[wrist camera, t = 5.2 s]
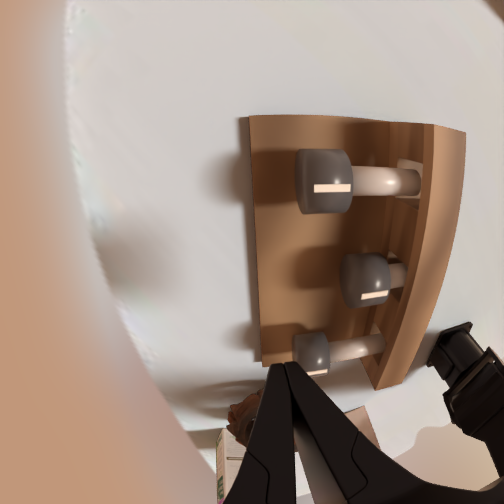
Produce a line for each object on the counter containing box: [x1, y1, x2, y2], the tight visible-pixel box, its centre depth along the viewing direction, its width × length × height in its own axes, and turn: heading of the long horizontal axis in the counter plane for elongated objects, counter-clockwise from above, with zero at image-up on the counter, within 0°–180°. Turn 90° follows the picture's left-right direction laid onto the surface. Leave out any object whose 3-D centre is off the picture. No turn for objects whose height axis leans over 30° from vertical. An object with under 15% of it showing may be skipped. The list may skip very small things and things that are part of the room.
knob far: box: [292, 332, 386, 378], centre depth 21 cm, size 8×4×4 cm, turn 93°
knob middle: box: [340, 252, 408, 309], centre depth 18 cm, size 8×4×4 cm, turn 93°
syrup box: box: [216, 428, 246, 504], centre depth 27 cm, size 6×6×14 cm
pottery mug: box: [226, 389, 298, 452], centre depth 27 cm, size 12×10×8 cm
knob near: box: [295, 149, 422, 215], centre depth 15 cm, size 8×4×4 cm, turn 93°
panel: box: [249, 115, 466, 391], centre depth 19 cm, size 13×22×6 cm, turn 3°
